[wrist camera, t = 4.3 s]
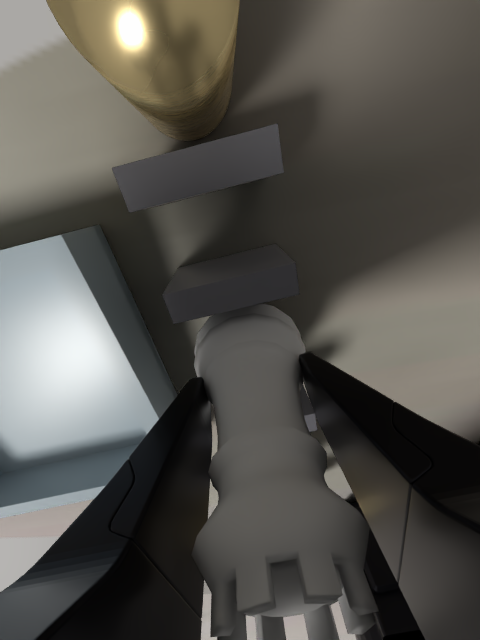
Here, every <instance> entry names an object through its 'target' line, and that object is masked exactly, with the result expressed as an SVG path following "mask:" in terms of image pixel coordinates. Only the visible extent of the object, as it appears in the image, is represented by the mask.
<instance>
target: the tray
mask: <svg viewBox="0 0 480 640" xmlns="http://www.w3.org/2000/svg"><path fill="white" fill-rule="evenodd" d="M176 397H177V393H176V391H175V388H174V386H173V384H172V382H171V380H170V378H169V375H168V373H167V371H166V369H165V367H164V364H163V362H162V360H161V358H160V356H159V353H158V351H157V349H156V347H155V345H154V342H153V340H152V338H151V336H150V334H149V332H148V329H147V327H146V325H145V323H144V321H143V318H142V316H141V314H140V312H139V310H138V307H137V305H136V303H135V301H134V299H133V296H132V294H131V292H130V290H129V288H128V286H127V283H126V281H125V279H124V277H123V275H122V272H121V270H120V268H119V266H118V264H117V261H116V259H115V257H114V255H113V253H112V250H111V248H110V246H109V244H108V242H107V240H106V237H105V235H104V233H103V231H102V229H101V226H100V224H99V225H95V226H92V227H88V228H84V229H80V230H76V231H72V232H68V233H64V234H61V235H57V236H53V237H49V238H45V239H41V240H37V241H33V242H30V243H26V244H22V245H18V246H14V247H10V248H6V249H2V250H0V518H4V517H9V516H14V515H19V514H23V513H28V512H33V511H38V510H43V509H48V508H52V507H57V506H62V505H67V504H72V503H77V502H81V501H86V500H91V499H95V497H96V496H97V495H98V494H99V493H100V492H101V491H102V489H103V488H104V487H105V486H106V485H107V484H108V482H109V481H110V480H111V479H112V477H113V476H114V475H115V474H116V473H117V471H118V470H119V469H120V468H121V466H122V465H123V464H124V462H125V461H126V460H127V459H129V456H130V455H131V454H132V452H133V451H134V450H135V449H136V447H137V446H138V445H139V444H140V442H141V441H142V440H143V439H144V437H145V436H146V435H147V433H148V432H149V431H150V430H151V428H152V427H153V426H154V425H155V423H156V422H157V421H158V420H159V418H160V417H161V416H162V414H163V413H164V412H165V411H166V409H167V408H168V407H169V406H170V404H171V403H172V402H173V400H174V399H175V398H176Z"/></svg>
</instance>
